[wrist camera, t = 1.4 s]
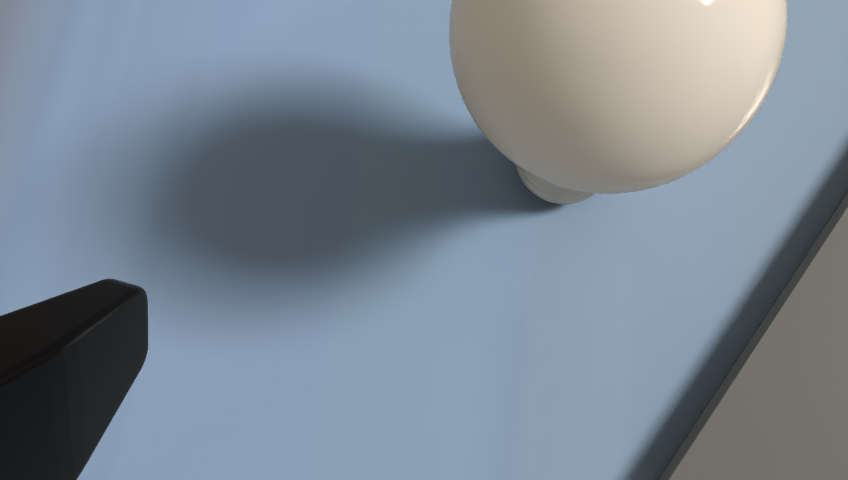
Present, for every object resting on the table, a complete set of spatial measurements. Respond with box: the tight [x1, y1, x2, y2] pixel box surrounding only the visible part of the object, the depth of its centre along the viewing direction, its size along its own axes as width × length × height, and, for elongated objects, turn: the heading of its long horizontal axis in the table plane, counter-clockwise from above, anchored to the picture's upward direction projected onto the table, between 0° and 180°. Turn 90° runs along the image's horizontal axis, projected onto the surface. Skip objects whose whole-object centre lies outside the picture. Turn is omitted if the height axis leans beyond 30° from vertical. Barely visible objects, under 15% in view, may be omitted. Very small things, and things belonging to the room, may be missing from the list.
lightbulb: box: [449, 0, 788, 204], centre depth 18 cm, size 6×6×11 cm
